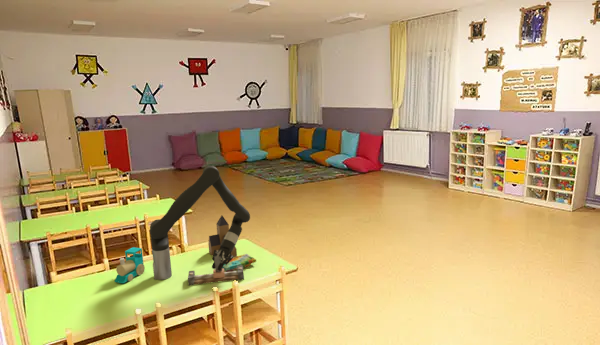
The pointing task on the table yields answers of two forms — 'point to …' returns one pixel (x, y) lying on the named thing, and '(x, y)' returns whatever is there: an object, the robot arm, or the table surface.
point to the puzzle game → (239, 262)
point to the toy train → (130, 266)
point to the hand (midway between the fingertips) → (215, 269)
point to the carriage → (215, 271)
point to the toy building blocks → (220, 237)
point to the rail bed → (209, 278)
